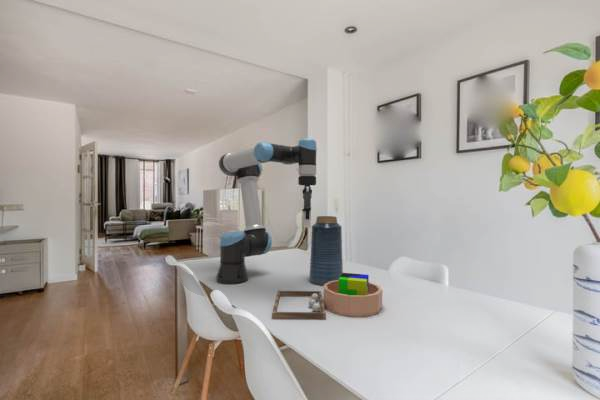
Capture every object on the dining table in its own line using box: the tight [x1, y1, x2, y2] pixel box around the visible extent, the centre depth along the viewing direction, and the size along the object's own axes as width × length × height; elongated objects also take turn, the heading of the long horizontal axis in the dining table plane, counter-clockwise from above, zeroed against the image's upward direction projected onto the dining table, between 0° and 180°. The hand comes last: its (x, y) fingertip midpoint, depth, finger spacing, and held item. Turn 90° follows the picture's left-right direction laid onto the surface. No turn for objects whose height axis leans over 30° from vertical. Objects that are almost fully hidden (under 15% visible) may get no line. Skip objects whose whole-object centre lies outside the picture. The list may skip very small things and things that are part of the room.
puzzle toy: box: [338, 272, 370, 295], centre depth 113 cm, size 10×10×10 cm
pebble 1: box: [310, 293, 319, 302], centre depth 118 cm, size 3×3×3 cm
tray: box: [271, 290, 327, 320], centre depth 112 cm, size 24×18×2 cm
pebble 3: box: [311, 302, 321, 312], centre depth 107 cm, size 3×3×3 cm
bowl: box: [323, 280, 383, 318], centre depth 113 cm, size 21×21×7 cm
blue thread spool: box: [308, 215, 344, 286], centre depth 146 cm, size 16×16×32 cm
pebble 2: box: [308, 299, 318, 308], centre depth 111 cm, size 3×3×3 cm
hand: (306, 226), depth 127 cm, fingers open, 13 cm apart
